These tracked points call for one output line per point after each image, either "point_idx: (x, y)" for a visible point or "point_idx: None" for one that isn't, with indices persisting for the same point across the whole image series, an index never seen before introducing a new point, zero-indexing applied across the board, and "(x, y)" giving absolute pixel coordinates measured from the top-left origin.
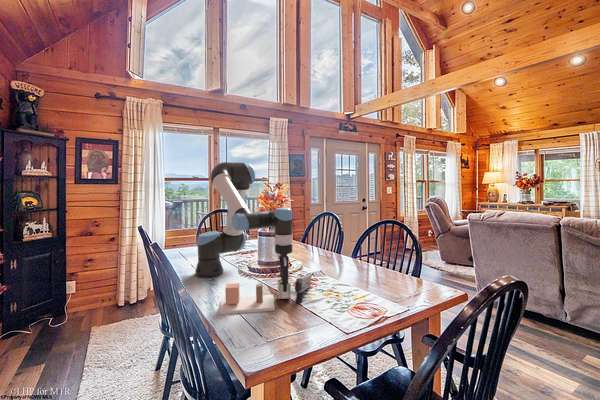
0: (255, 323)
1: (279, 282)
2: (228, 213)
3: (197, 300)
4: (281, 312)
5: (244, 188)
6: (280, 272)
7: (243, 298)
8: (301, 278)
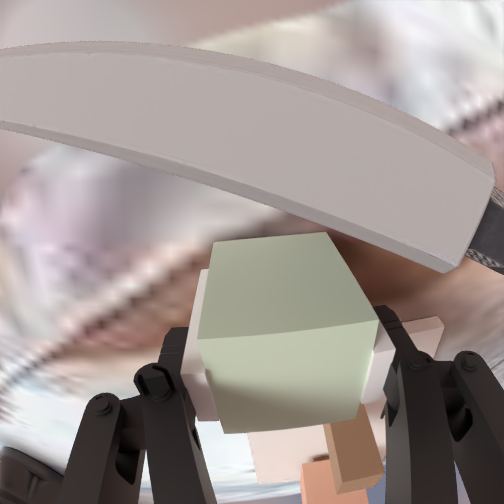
0: (492, 359)
1: (314, 418)
2: None
3: (248, 500)
4: (468, 280)
5: None
6: (142, 470)
7: (277, 450)
8: (490, 177)
